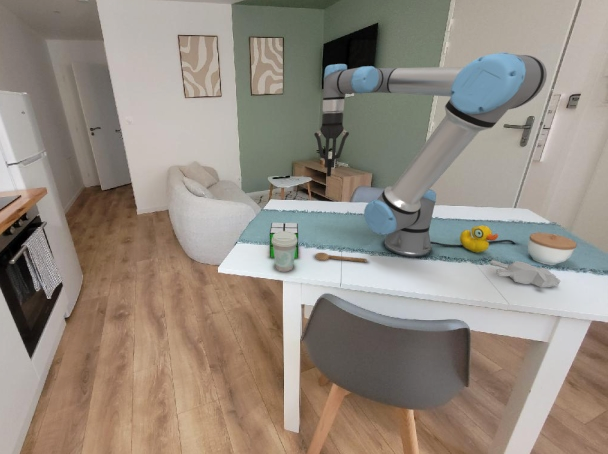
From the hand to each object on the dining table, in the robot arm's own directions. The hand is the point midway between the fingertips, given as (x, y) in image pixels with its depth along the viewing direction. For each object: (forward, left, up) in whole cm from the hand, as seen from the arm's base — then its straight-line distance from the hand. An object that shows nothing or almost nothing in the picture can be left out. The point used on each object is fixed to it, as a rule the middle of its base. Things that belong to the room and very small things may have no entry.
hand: (328, 175), depth 116 cm
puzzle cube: (+14, +22, -25) cm, 36 cm away
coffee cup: (+12, +34, -25) cm, 43 cm away
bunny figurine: (-58, +26, -25) cm, 68 cm away
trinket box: (-71, +11, -25) cm, 76 cm away
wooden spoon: (-6, +24, -24) cm, 35 cm away
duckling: (-52, +8, -25) cm, 58 cm away
